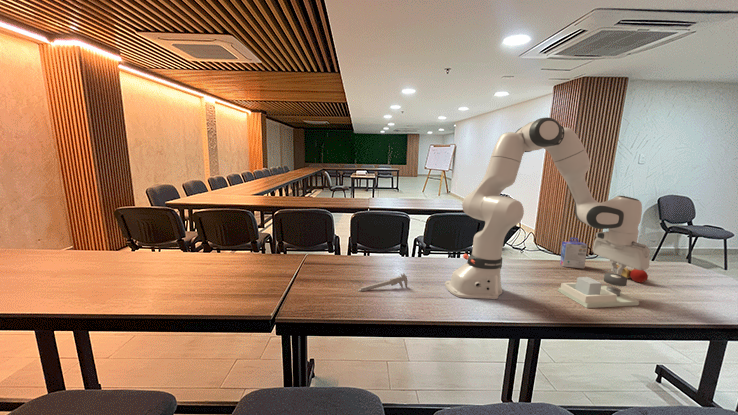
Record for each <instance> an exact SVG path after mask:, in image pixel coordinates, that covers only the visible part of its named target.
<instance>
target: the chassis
mask: <svg viewBox="0 0 738 415" xmlns="http://www.w3.org/2000/svg"><path fill="white" fill-rule="evenodd" d="M576 282H577V281H576ZM576 282H561V283H560V287H558V290H557V292H558V293H561V294H562V295H564V296H566V297H567V298H569V299H570V300H573V301H574V302H576V303H577V304H580V305H581V306H583V307H585V309H590V308H591V309H593V308H613V307H614V308H615V307H631V306H639V305H640V300H637V299H635V298H633V297H631V296H628V294H627V295H626V294H624V293H622V292H621V291H622V290H621V288H618V287H615V286H607V285H601V291H600V294H599V295H585V294H583V293H581V292H579V291H578V290H576Z"/></svg>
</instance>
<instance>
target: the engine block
mask: <svg viewBox="0 0 738 415" xmlns="http://www.w3.org/2000/svg"><path fill="white" fill-rule="evenodd" d="M602 284H603V283H602V282H600V281H597V280H596V279H594V278H592V277H590V276H578V277H576V290H578V291H579V292H581V293H583V294H585V295H599V294H600V291H601V286H603V285H602Z"/></svg>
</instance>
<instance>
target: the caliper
mask: <svg viewBox="0 0 738 415" xmlns="http://www.w3.org/2000/svg"><path fill="white" fill-rule="evenodd" d="M403 282H404V285H403ZM397 284H399V286H400V287H401V289H402V288H404V287H405V288H407V287H408V276H407V274H405V272H403V273H400V276H396V277H392V278H389V280H385V281H384V280H383V281H380V282H378V283H374V284H370V285H366V286H362V287H360V288H358V289H357V291H358V292H366V291H369V290H373V289H377V288H382V287H385V286H389V285H391V286H396V285H397Z"/></svg>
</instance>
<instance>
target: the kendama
mask: <svg viewBox="0 0 738 415" xmlns="http://www.w3.org/2000/svg"><path fill="white" fill-rule="evenodd" d="M616 265H617V268H618V267H619V265H618V264H617V263H616ZM620 275H622V276H624V277H626V278H627V279H630V278H631V280H632V281H634V282H636V283H640V284H641V283H644V282H646V281H647V280H648V278H649V275H648V273H647V272H646V270H637V269H634V268H632V269H628V268H627V267H625V268H624V269H623V270H622V274H620Z"/></svg>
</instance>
